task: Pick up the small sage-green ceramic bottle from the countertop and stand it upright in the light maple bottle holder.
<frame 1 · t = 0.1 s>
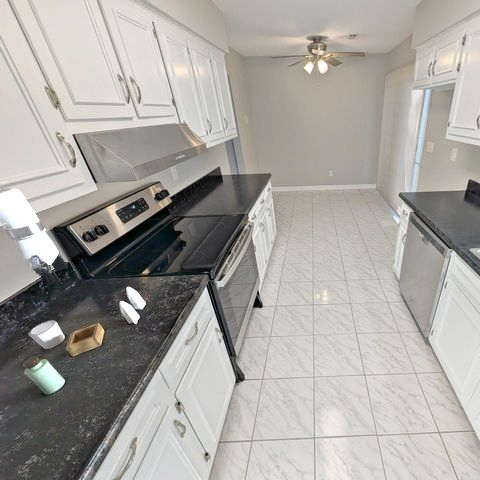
hand: (58, 275, 84), 22 cm above the worktop, tool pointing down, fingers open, 9 cm apart
bottle: (54, 386, 73), on the worktop
holder: (89, 343, 86), on the worktop
white cup: (54, 342, 88), on the worktop
shaker set: (137, 313, 98), on the worktop
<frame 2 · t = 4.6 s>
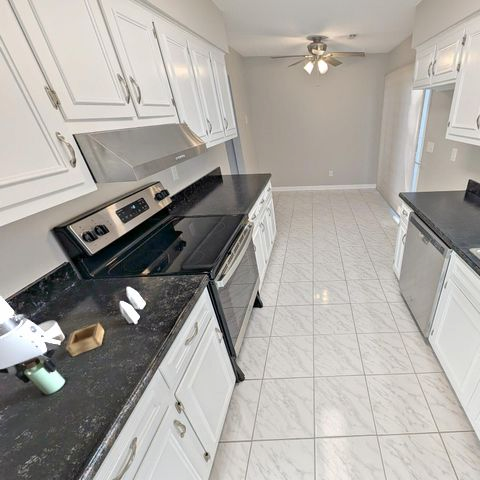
hand: (41, 372, 70), 6 cm above the worktop, tool pointing down, fingers closed on bottle, 4 cm apart
bottle: (54, 386, 73), on the worktop, touching gripper
everything else where it was.
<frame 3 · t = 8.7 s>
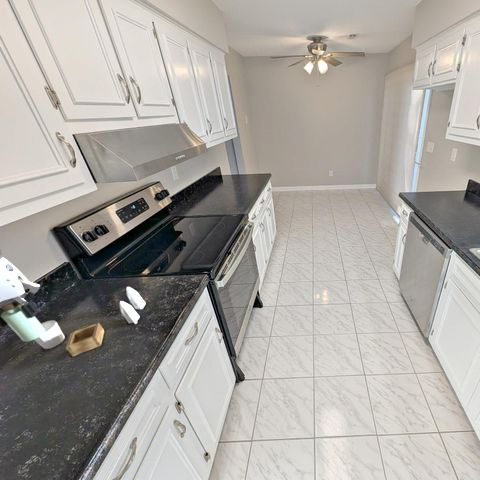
hand: (20, 318, 66), 22 cm above the worktop, tool pointing down, fingers closed on bottle, 4 cm apart
bottle: (34, 334, 69), point 16 cm above the worktop, touching gripper
everything else where it was.
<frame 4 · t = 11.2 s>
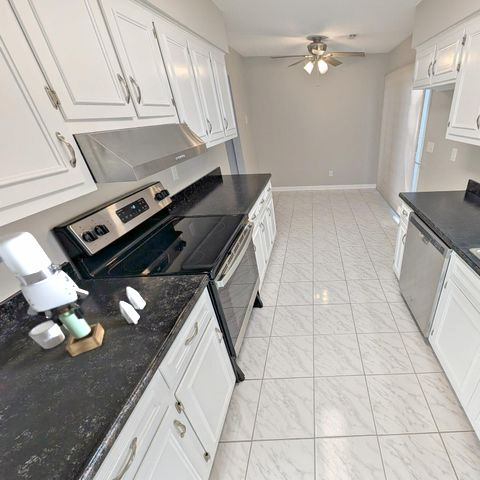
hand: (72, 319, 81), 11 cm above the worktop, tool pointing down, fingers closed on bottle, 4 cm apart
bottle: (82, 333, 84), point 5 cm above the worktop, touching gripper
everything else where it was.
when the fingers open (7 cm above the worktop, at t = 12.8 s): bottle stays where it is, resting on holder.
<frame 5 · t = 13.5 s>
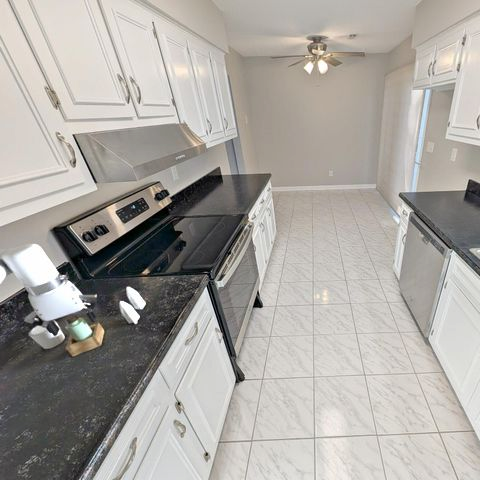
hand: (76, 326, 82), 8 cm above the worktop, tool pointing down, fingers open, 9 cm apart
bottle: (88, 341, 86), point 1 cm above the worktop, touching holder
everything else where it was.
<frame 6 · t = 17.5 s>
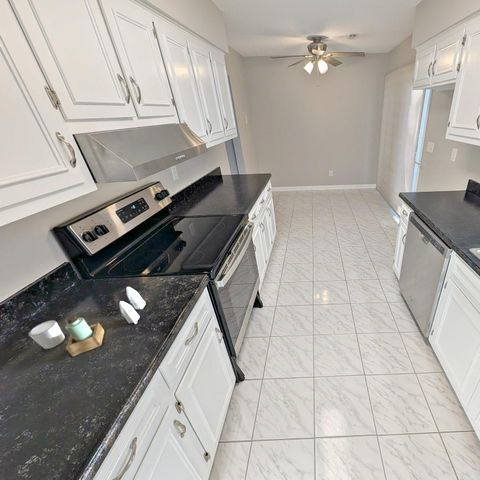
nothing on the worktop moved.
at the end: bottle 0.1 cm off-centre in the holder, point 0.6 cm above the holder's base; bottle tilted 0° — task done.
